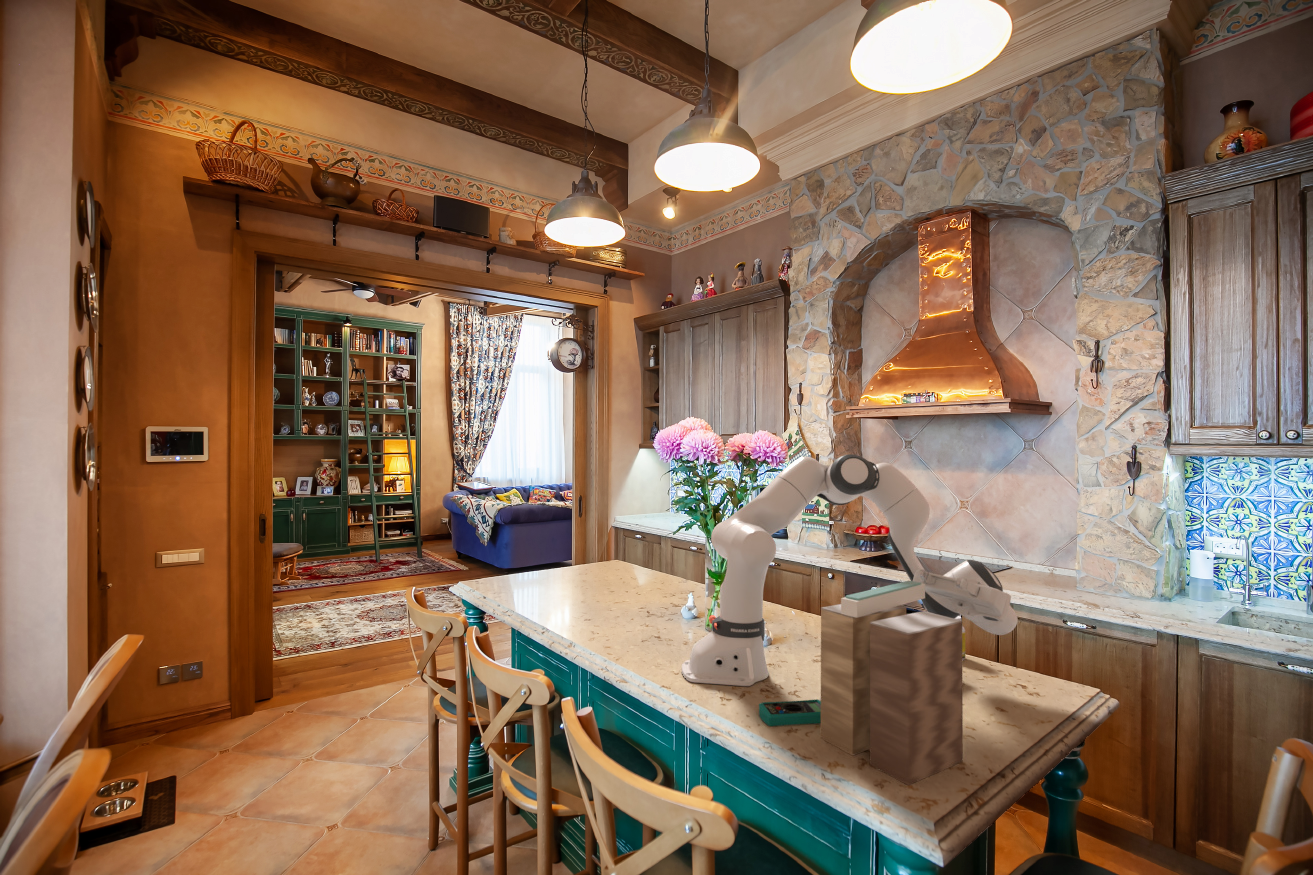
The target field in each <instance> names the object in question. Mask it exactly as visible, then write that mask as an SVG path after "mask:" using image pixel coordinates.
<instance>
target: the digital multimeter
mask: <svg viewBox="0 0 1313 875" xmlns="http://www.w3.org/2000/svg"><path fill="white" fill-rule="evenodd" d="M758 714H759V718H760V719H761V721H762V722H764V723H765V724H766V725H767V726H769V727H779V726H780V727H781V726H793V725H794V726H795V725H812V724H813V725H814V724H817V725H818V724H821V699H818V698H817V699H805V700H804V699H803V700H792V701H791V700H789V701H765V702H764V701H762V702H760V703H759V704H758Z"/></svg>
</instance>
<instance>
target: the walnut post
mask: <svg viewBox="0 0 1313 875" xmlns="http://www.w3.org/2000/svg"><path fill="white" fill-rule="evenodd" d="M962 626H963V620H962V619H961V620H958V619H954V618H950V617H946V616H942V615H938V614H934V613H930V612H928V611H927V610H926V611H925V610H923V611H917V612H912V613H906V615H902V616H897V617H892V618H887V619H882V620H877V621H872V622H870V749H869V765H870V766H871V767H874V768H876V769H877V770H879V771H881V772H882V773H884V774H886V775H888V776H891V778H893V779H896V780H897V781H899V782H902V783H904V784H906V785H907V786H909V785H912V784H914V783H917V782H919V781H921V780H924V779H925V778H928V777H930V776H932V775H935V774H937V773H939V772H941V771H944V770H946V769H948V768H951V767H953V766H955V765H958V764H960V763H963V761H964V756H963V755H964V754H963V750H964V749H963V748H964V747H963V744H964V741H963V737H964V736H963V733H964V732H963V731H964V730H963V729H964V728H963V727H964V726H963V725H964V724H963V721H964V720H963V717H964V716H963V705H964V704H963V697H964V695H963V660H962Z"/></svg>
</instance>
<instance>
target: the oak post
mask: <svg viewBox="0 0 1313 875" xmlns="http://www.w3.org/2000/svg"><path fill="white" fill-rule="evenodd" d="M902 615H907V606H905V605H900V606H896V607H893V608H889V609H886V610H882V611H879V612H875V613H872V614H868V615H865V616H861V617H858V618H856V617H852V616H848V615H844V614H841V603H840V604H834V605H829V606H823V607H822V606H821V607H820V701H821V723H820V739H821V740H823V741H826V742H827V743H828V744H830V745H833V746H835V747H836V748H838V749H840V750H842V751H843V752H845V753H848V754H849V755H851V756H854V755H857V754H859V753H860V754H861V753H863V752H865V751H868V750H870V622H872V621H877V620H882V619H887V618H892V617H897V616H902Z"/></svg>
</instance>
